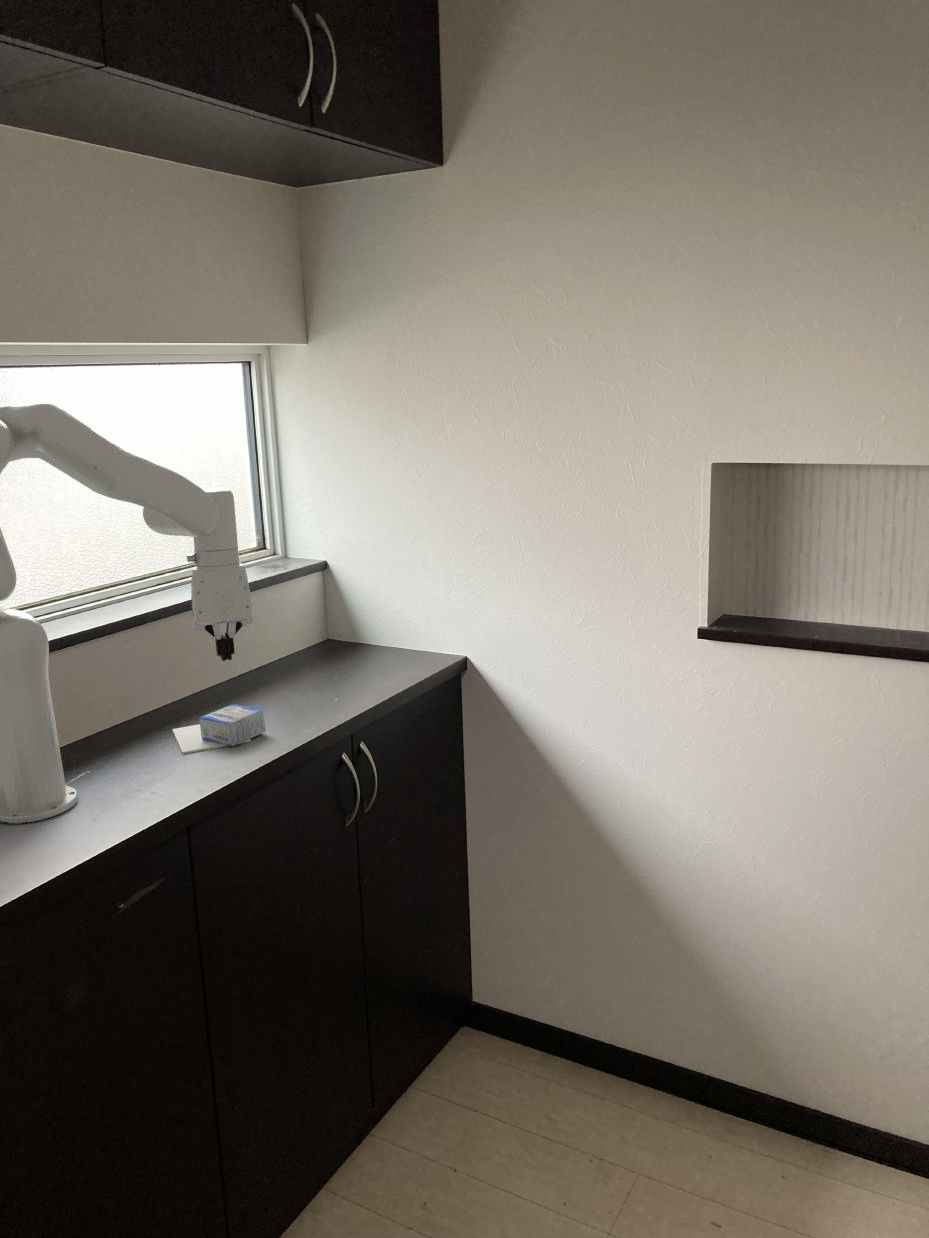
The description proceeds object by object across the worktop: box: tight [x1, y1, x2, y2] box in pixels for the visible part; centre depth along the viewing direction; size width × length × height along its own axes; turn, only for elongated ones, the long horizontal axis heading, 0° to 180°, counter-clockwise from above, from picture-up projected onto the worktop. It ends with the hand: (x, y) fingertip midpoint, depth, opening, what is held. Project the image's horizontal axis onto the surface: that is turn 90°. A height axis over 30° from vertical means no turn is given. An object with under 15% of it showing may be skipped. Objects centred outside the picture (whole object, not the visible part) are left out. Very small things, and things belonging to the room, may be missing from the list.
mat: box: [172, 723, 252, 755], centre depth 187 cm, size 12×14×1 cm
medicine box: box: [199, 703, 266, 747], centre depth 185 cm, size 8×4×9 cm
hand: (226, 658), depth 185 cm, fingers closed
